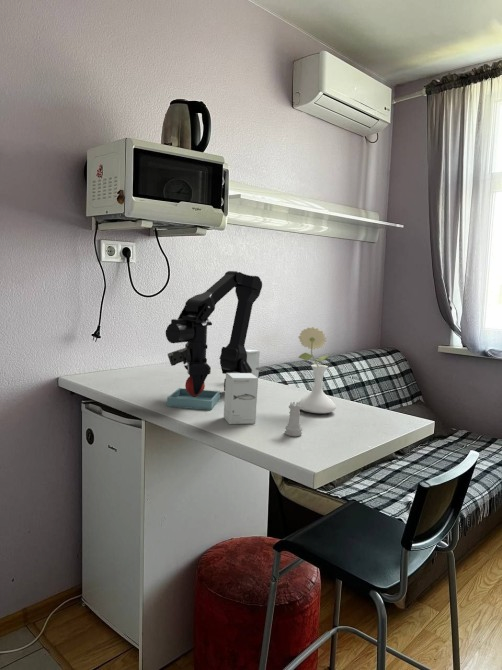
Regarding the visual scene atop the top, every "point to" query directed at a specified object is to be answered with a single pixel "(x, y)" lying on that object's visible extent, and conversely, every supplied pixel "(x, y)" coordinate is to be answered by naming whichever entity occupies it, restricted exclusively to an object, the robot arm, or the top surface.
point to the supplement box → (240, 398)
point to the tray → (193, 399)
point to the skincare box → (253, 361)
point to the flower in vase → (315, 374)
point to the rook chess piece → (294, 421)
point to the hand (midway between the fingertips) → (195, 391)
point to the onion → (190, 387)
